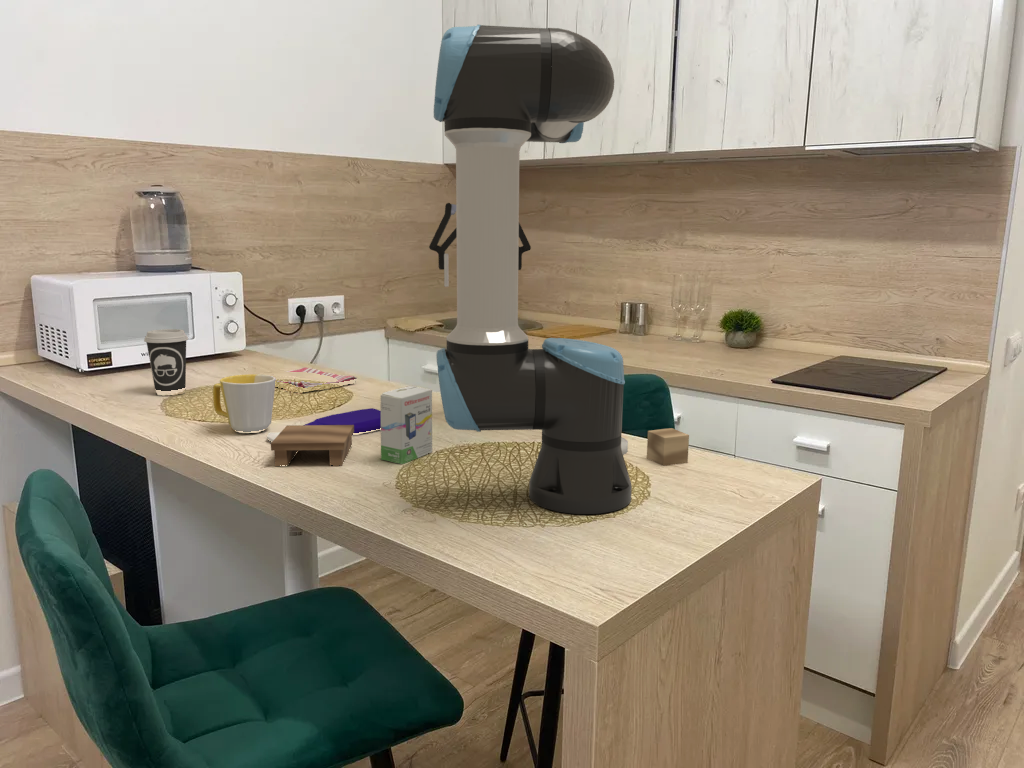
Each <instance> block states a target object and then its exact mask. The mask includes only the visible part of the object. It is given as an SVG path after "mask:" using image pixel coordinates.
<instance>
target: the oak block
mask: <svg viewBox="0 0 1024 768" xmlns="http://www.w3.org/2000/svg"><path fill="white" fill-rule="evenodd" d="M689 443H690V435H689V434H688V433H685V432H682V431H680V430H678V429H676V428H672V427H671V428H670V427H669V428H661V429H654V430H652V429H651V430H647V443H646V459H648V460H650V461H651V462H654V463H656V464H658V465H660V466H662V467H665V466H666V467H667V466H673V465H681V464H687V463H689V462H688V461H689Z"/></svg>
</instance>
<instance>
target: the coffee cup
mask: <svg viewBox="0 0 1024 768" xmlns="http://www.w3.org/2000/svg"><path fill="white" fill-rule="evenodd" d="M188 340H189V336H188V335H187V334H186V333H185V330H184V329H180V328H179V329H178V328H177V329H175V328H166V329H165V328H164V329H153V330H147V332H146V336H144V339H143V342H145V343H146V347H147V352H148V358H149V363H150V368H151V374H152V380H153V385H154V390H155V389H156V390H161V391H171V390H178V389H182V388H185V387H186V384H187V383H186V379H187V378H186V375H187V374H186V371H187V341H188Z"/></svg>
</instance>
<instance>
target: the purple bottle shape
mask: <svg viewBox="0 0 1024 768" xmlns="http://www.w3.org/2000/svg"><path fill="white" fill-rule="evenodd" d="M304 425H354V433H359V432H366V431H371V430H376V429H380V428H381V409H377V408H374V407H372V408H371V407H370V408H362V409H356V410H352V411H345V412H340V413H335V414H330V415H325V416H323V417H319V418H316V419H314V420H313V421H311V422H308V423H305V424H304ZM280 433H281V431H279V432H276V431H275V432H273V431H272V432H270V431H269V432H268V434H267V435H266V440H267V439H269V440H270V441H272V442H273V440H274V439H275V438H276V437H277V436H278V435H279V434H280ZM270 441H269V442H270ZM272 442H271V443H272Z"/></svg>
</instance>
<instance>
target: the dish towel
mask: <svg viewBox="0 0 1024 768" xmlns="http://www.w3.org/2000/svg"><path fill="white" fill-rule="evenodd" d="M285 372H307V373H316V374H320V375H325V376H330V377H333V378H336V379H337V380H338V381H336V382H327V383H324V384H330V383H339V382H344V381H350V380H354V379H357V378H358V377H356V376H355V375H342V374H337V373H332V372H324V371H322V370H319V369H316V368H312V367H301V368H298V369H291V370H287V371H285ZM357 380H358V379H357ZM277 382H283V381H277ZM283 383H289V384H292V385H295V386H296V387H303V388H308V387H314V386H317V385H322V384H323V383H310V382H304V381H301V382H300V383H298V382H291V381H288V382H283Z"/></svg>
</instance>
